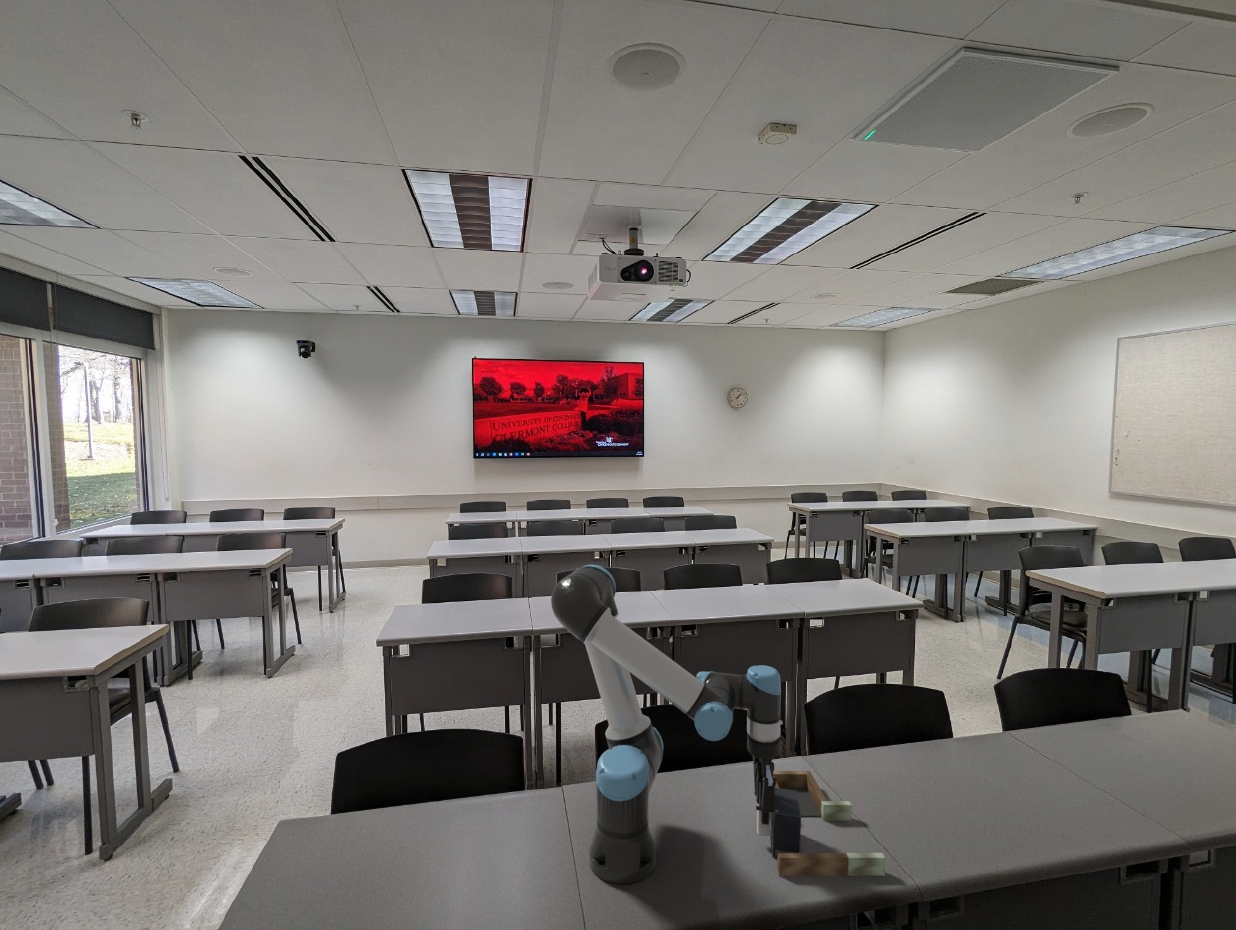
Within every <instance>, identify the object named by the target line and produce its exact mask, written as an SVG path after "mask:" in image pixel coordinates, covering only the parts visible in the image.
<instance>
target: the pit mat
mask: <svg viewBox="0 0 1236 930" xmlns="http://www.w3.org/2000/svg"><path fill="white" fill-rule="evenodd" d="M779 788H780V789H788V790H794V791H797V795H798V802H799V808H800V814H801V818H806V817H807V818H809V817H811V818H812V817H813V818H820V817H821V814H820V812H819V811H818V809H817V807H816V805H815V803H814V801H813V800H812V798H811V796H810V794H809V792H808V790H807V788H806V787H779ZM821 818H822V817H821Z"/></svg>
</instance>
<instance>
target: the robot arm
mask: <svg viewBox="0 0 1236 930" xmlns="http://www.w3.org/2000/svg"><path fill="white" fill-rule="evenodd" d="M616 584H617V583H616V581H615V578H614V577H613V575H612V574H611V572H610V571H608V570H607V569H606V568H604V567H603V566H602V565H597V564H586V565H583V566H580V567H578V568H576V569H574V570H573V571H572V572H570V574H568V575H567V576H564V577H563V578H561V579H560V580H559V581H558V583H556V585H554V588H553V591H552V593H551V598H550V603H551V608H552V612H553V615H554V616H555V618H556V620H557V621H558V622H559V623H560V624H561V626H563V627H564V629H566V630H567V632H568V633H570V634H572V636H573V637H575V638H576V639H577V640H579V641H580V642H582V643H583V644H584V645H585V649H586V652H587V655H588V659H589V662H590V665H591V668H592V672H593V675H594V679H595V682H596V685H597V688H598V692H599V696H600V699H601V702H602V706H603V709H604V713H605V716H606V718H607V719H606V720H607V722H608V727H607V729H606V731H605V737H606V742H607V746H608V749H606V750H605V751H604V752H603V753H602V754H601V755H600V757H599V759H598V761H597V765H596V766H597V767H596V772H595V782H596V826H595V830H594V833H593V836H592V839H591V841H590V845H589V848H588V863H589V867H590V869H591V871H593V873H594V874H595V875H596V876H597V877H599V878H600V879H602V880H604V881H605V882H609V883H612V884H617V885H618V884H619V885H626V884H627V885H628V884H634V883H638V882H640V881H642V880H645V879H646V878H647V877H649V876H650V875H651V873H652V872H653V871H654V869H655V867H656V865H657V849H656V845H655V842H654V839H653V836H652V832H651V829H650V827H649V798H650V794H651V793H650V792H651V789H652V786H653V783H654V781H655V779H656V776H657V774H658V772H659V769H660V766H661V764H662V761H663V756H664V754H663V753H664V742H663V739H662V736H661V733H659V731H658V730H657V728H656V727H654V726H653V725H652V721H651V719H650V717H649V716H648V715H644V714H643V713H642V710H641V705H640V703H639V699H638V696H637V693H636V690H635V685H634V683H633V679H632V676H631V674H632V675H633V676H635V677H636V678H637V679H638V680H640V681H641V682H643V683H644V684H645V685H647V686H648V687H649V688H651V689H652V690H653V691H655V692H656V693H658V695H660V696H661V697H663V698H664V699H665V700H666V701H667V702H669V703H671V704H672V705H673V706H674V707H676V708H677V709H678V710H680V711H681V712H683V713H684V714H685V715H686V716H688V718H690V719H691V720H693V723H694V726H695V729H696V731H697V733H698V734H699V736H700V737H702V738H703V739H705V740H707V741H711V742H717V741H720V740H723V739H725V738H726V736H728V734H729V732H730V730H731V727H732V724H733V722H734V710H735V709H736V710H737V709H739V710H747V711H746V712H747V715H746V722H747V723H746V732H747V735H746V739H747V740H746V741H747V742H746V745H747V747H746V748H747V751H748V753H749V754H750V755H752V761H753V762H752V764H753V782H754V793H753V794H754V796H755V797H756V799H755V800H756V801H755V802H756V806H755V809H756V833H757V836H758V837H766V836H767V837H770V812H773V805H774V792H775V785H776V778H773V771H775V763H774V761H773V760H774V759H775V758H778V757H779V756H780V754H781V748H782V746H781V745H782V743H781V726H782V725H783V720H781V714H782V713H781V709H782V708H781V707H782V704H781V703H782V698H781V697H782V688H781V687H782V685H781V684H782V683H781V682H782V681H781V675H780V672H779V671H778V670H777V669H776V668H774V667H772V666H769V665H764V664H762V665H761V664H760V665H752V666H750V667H749V668H748V669H747V673H746V674H736V673H735V674H734V673H727V672H717V671H716V672H715V671H713V670H712V671H699V672H698V673H697V674H696V676H694V675H693V674H692V673H690V672H689V671H687V670H686V669H685V668H683V667H682V666H681V665H680V664H678V663H677V662H676V661H675V660H673V659H672V658H670V657H669V656H668V655H666V654H665V653H664V652H662V651H660V649H658V648H657V647H656V646H654V645H652V644H651V643H649V641H647V640H646V639H644V638H643V637H642V636H640V635H639V634H638V633H636V632H635V631H634V630H632V629H631V628H630V627H629V626H627V625H626V624H624V623H623V622H621V621H620V620H619V619H618V618H617V617H618V616H619V612H618V611H619V610H618V608H617V604H616V601H615V596H616V591H617V590H616V589H617V587H616V586H617V585H616ZM758 803H759V805H758Z"/></svg>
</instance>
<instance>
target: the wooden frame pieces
mask: <svg viewBox="0 0 1236 930" xmlns="http://www.w3.org/2000/svg"><path fill="white" fill-rule="evenodd" d="M773 778H776V785H775V788H779V787H806V788H807V790H808V792H809V794H810V796H811V798H812V800H813V801H814V803H815V805H816V807H817V809H818V811H819V812H820V814H821V819H822V821H823V822H824V821H827V822H828V821H831V822H832V821H836V822H837V821H839V822H840V821H844V822H845V821H846V822H847V821H849V822H850V821H852V812H853V811H852V808H853V807H852V806H853V805H852V804H851V803H852V802H850V801H847V800H846V801H845V800H843V801H842V800H841V801H840V800H839V801H838V800H837V801H836V800H835V801H834V800H832V801H831V800H827V798H826V797H825V795H824V793H823V792H822V791H823V790H821V788H820V786H819V785H818V784H819V783H818V782H817V780H816V779H815V777H814V775H813V774H812V772H811V771H810V770H774V771H773ZM757 805H759V803H757ZM770 818H771V812H770ZM776 868H777V873H778V876H779V877H780V876H782V877H783V876H785V877H787V876H788V877H791V876H793V877H794V876H796V877H798V876H799V877H800V876H801V877H802V876H803V877H804V876H805V877H807V876H810V877H811V876H813V877H814V876H815V877H817V876H818V877H819V876H821V877H827V876H831V877H832V876H834V877H836V876H837V877H838V876H839V877H846V876H853V877H854V876H859V877H860V876H861V877H862V876H864V877H865V876H867V877H868V876H869V877H870V876H873V877H874V876H879V877H880V876H886V857H885V854H884V853H883V852H800V853H778V858H777V867H776Z"/></svg>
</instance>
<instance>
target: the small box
mask: <svg viewBox="0 0 1236 930" xmlns="http://www.w3.org/2000/svg"><path fill="white" fill-rule="evenodd" d="M801 830H802V817H801V814H800V808H799V802H798V795H797V791H794V790H788V789H780V788H775V792H774V805H773V812H771V818H770V836H769V838H770V848H771V849H770V851H771V852H770V853H771V857H772V858H777V859H778V853H801V833H802V831H801Z"/></svg>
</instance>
